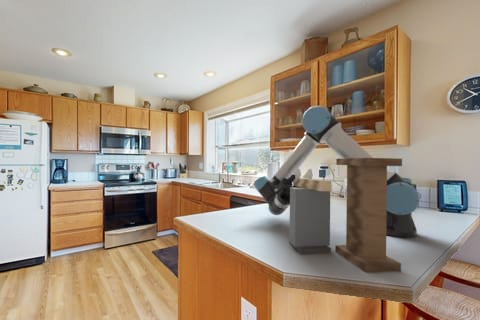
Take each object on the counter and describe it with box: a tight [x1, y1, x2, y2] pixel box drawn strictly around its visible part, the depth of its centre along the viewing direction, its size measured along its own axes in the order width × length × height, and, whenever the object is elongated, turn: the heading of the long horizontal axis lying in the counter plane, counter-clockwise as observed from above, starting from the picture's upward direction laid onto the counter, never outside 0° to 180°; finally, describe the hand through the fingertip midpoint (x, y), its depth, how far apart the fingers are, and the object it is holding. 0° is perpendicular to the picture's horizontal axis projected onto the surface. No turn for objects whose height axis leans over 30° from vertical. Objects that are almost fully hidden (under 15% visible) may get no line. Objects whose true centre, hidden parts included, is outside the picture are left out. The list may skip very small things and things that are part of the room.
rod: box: [292, 177, 333, 192], centre depth 79 cm, size 22×3×3 cm, turn 9°
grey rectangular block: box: [288, 187, 332, 255], centre depth 79 cm, size 10×12×20 cm
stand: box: [334, 157, 403, 274], centre depth 70 cm, size 15×10×30 cm, turn 9°
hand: (305, 172), depth 83 cm, fingers open, 4 cm apart
